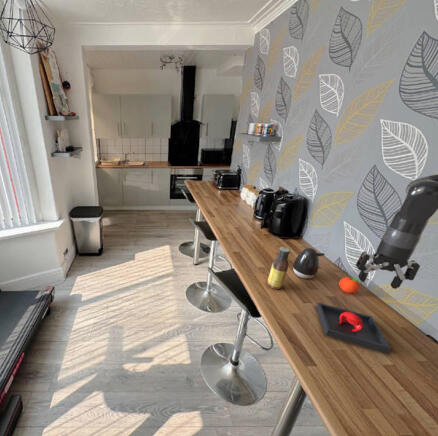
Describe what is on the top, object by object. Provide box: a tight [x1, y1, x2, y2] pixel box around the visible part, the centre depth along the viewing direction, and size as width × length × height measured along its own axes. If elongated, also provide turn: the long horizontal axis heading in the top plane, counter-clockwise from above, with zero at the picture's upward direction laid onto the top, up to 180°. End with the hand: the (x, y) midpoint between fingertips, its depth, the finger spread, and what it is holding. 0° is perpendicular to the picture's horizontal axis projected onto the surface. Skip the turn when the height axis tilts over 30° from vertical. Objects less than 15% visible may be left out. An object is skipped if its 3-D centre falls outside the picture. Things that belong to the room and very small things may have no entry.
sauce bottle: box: [266, 246, 291, 290], centre depth 104 cm, size 7×6×20 cm
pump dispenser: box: [292, 247, 326, 280], centre depth 113 cm, size 10×10×15 cm
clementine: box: [338, 276, 362, 294], centre depth 105 cm, size 8×7×7 cm
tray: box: [315, 302, 391, 354], centre depth 87 cm, size 18×15×3 cm
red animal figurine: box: [339, 312, 363, 332], centre depth 86 cm, size 8×6×6 cm
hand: (377, 283), depth 79 cm, fingers open, 8 cm apart
